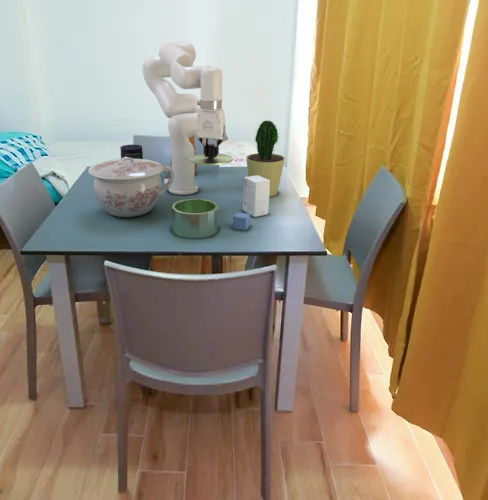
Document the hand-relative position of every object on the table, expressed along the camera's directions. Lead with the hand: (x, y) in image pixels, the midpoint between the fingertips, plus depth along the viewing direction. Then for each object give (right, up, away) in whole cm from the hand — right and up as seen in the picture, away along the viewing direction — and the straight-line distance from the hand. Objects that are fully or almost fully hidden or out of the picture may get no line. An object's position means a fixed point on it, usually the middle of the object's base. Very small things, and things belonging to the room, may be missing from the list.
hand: (210, 156), depth 180 cm
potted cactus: (+23, -11, +23) cm, 34 cm away
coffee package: (-11, +1, +51) cm, 52 cm away
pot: (-6, -28, -13) cm, 31 cm away
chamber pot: (-30, -20, +4) cm, 37 cm away
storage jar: (-34, -3, +42) cm, 54 cm away
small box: (+17, -21, +2) cm, 27 cm away
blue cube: (+10, -27, -12) cm, 31 cm away
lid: (0, -1, +1) cm, 1 cm away
